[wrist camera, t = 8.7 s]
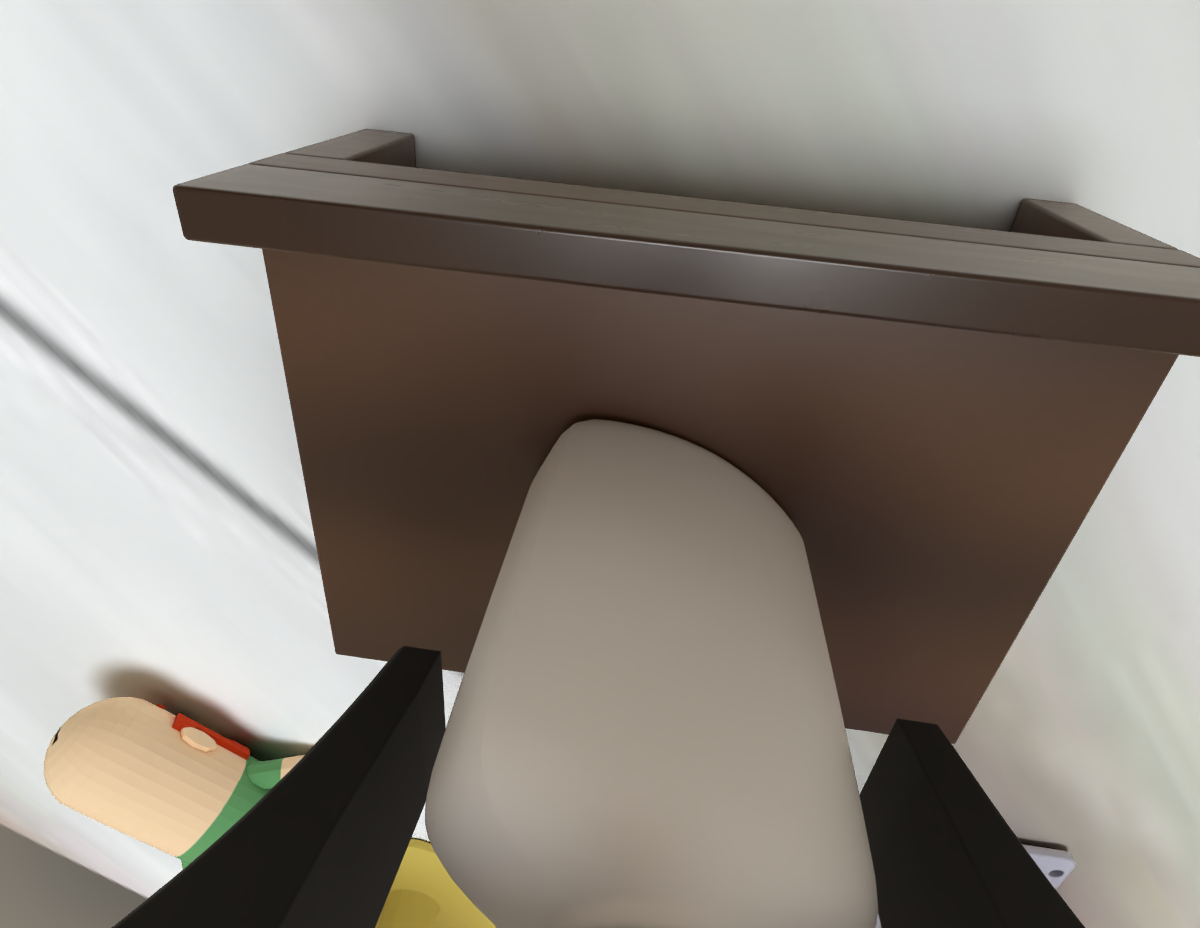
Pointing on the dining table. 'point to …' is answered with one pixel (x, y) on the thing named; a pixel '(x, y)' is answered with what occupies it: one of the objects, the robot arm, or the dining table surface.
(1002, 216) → the dining table surface
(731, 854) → the eye dropper bottle
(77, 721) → the toy figurine
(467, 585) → the shelf
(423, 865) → the candle
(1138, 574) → the dining table surface
